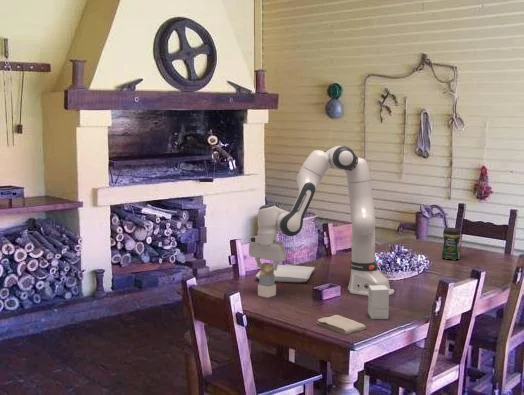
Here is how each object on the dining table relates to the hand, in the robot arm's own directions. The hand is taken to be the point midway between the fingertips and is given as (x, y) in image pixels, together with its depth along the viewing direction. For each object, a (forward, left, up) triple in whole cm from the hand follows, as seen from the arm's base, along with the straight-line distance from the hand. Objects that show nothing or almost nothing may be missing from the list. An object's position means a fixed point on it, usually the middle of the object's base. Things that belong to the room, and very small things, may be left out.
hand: (267, 268), depth 318 cm
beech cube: (0, 0, -3) cm, 3 cm away
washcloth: (-53, +16, -13) cm, 57 cm away
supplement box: (-57, -6, -13) cm, 59 cm away
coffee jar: (-28, -130, -13) cm, 134 cm away
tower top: (0, 0, -8) cm, 8 cm away
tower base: (0, 0, -13) cm, 13 cm away
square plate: (+16, -33, -13) cm, 39 cm away
